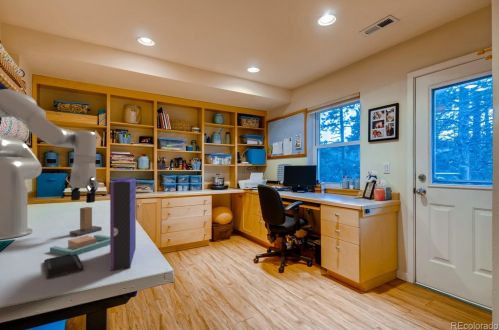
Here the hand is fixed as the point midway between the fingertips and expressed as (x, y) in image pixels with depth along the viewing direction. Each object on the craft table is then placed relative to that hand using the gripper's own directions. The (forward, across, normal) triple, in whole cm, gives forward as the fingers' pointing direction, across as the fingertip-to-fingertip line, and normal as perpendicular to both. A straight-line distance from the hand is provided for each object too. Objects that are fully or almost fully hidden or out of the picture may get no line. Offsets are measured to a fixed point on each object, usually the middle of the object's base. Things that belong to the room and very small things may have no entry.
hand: (82, 201), depth 101 cm
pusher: (+13, +1, +1) cm, 13 cm away
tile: (+13, +18, -11) cm, 25 cm away
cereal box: (+12, +40, -12) cm, 44 cm away
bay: (+13, +18, -10) cm, 25 cm away
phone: (+13, +29, -23) cm, 40 cm away
